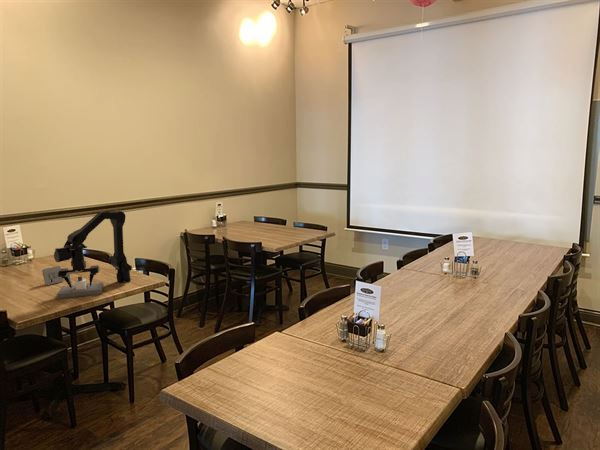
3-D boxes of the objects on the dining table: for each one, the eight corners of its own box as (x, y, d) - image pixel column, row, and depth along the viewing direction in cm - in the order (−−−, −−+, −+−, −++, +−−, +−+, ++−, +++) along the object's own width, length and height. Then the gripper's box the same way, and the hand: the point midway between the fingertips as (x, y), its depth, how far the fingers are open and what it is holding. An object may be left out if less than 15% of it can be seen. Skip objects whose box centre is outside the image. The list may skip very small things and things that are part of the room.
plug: (86, 289, 237) (85, 275, 235) (85, 292, 233) (83, 277, 231) (77, 290, 235) (75, 276, 234) (76, 293, 231) (74, 278, 230)
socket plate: (103, 286, 243) (103, 282, 243) (101, 294, 231) (100, 289, 230) (62, 290, 237) (62, 286, 237) (57, 299, 225) (57, 294, 225)
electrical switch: (46, 286, 246) (43, 269, 245) (42, 285, 249) (40, 268, 248) (64, 281, 253) (61, 265, 252) (60, 281, 256) (57, 265, 255)
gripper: (99, 252, 241) (102, 280, 244) (60, 255, 235) (64, 284, 238) (96, 257, 230) (99, 286, 233) (56, 261, 225) (59, 291, 228)
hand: (81, 287), depth 234 cm, fingers open, 9 cm apart
